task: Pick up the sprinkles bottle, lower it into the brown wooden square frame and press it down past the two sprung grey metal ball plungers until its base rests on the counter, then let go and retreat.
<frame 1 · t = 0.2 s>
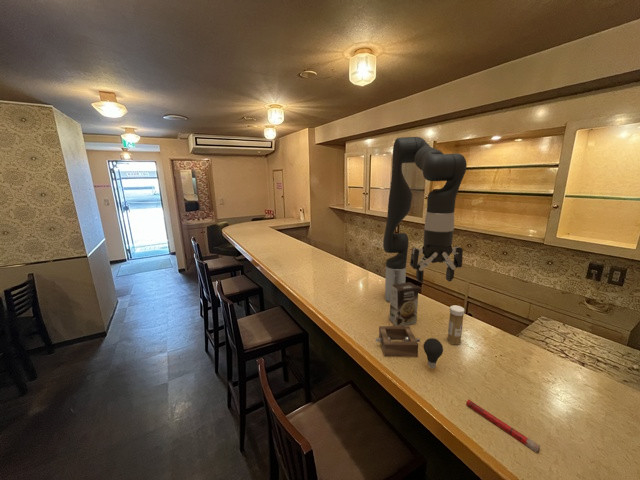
hand: (434, 280, 77), 28 cm above the table, fingers open, 8 cm apart
brown wooden square frame: (397, 346, 92), on the table
plunger 2: (411, 340, 91), point 3 cm above the table, slide at 0.0 cm
coffee box: (402, 322, 107), on the table
light bulb: (431, 367, 82), on the table
flare: (499, 427, 62), on the table
sprinkles bottle: (453, 341, 94), on the table
plunger 1: (383, 339, 92), point 3 cm above the table, slide at 0.0 cm
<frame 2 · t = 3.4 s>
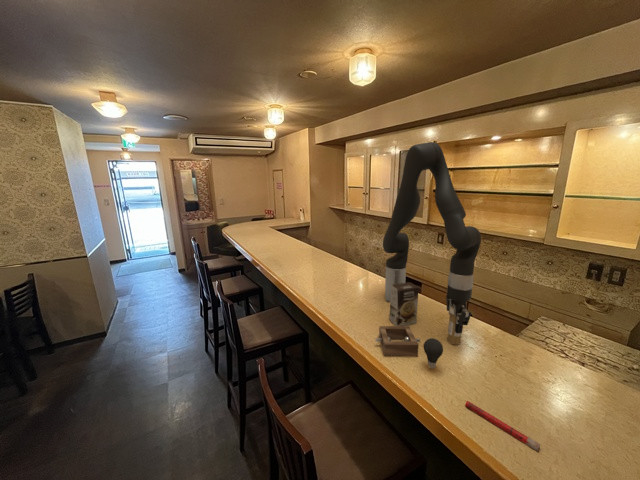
hand: (455, 328, 92), 5 cm above the table, fingers closed on sprinkles bottle, 4 cm apart
sprinkles bottle: (453, 341, 94), on the table, touching gripper
everything else where it was.
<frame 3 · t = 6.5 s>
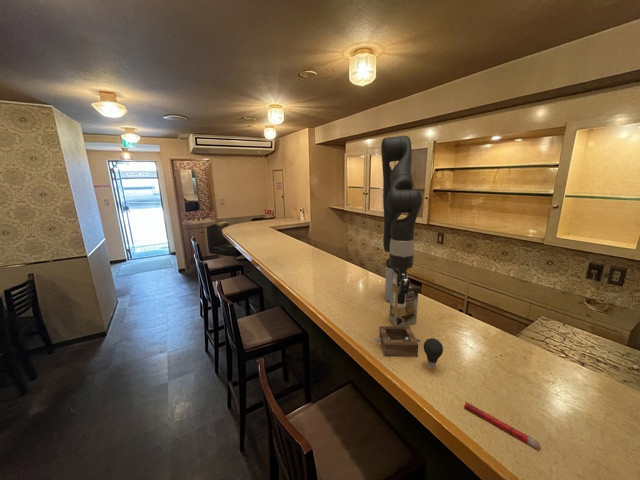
hand: (399, 299, 88), 18 cm above the table, fingers closed on sprinkles bottle, 4 cm apart
sprinkles bottle: (398, 314, 89), point 13 cm above the table, touching gripper
everything else where it was.
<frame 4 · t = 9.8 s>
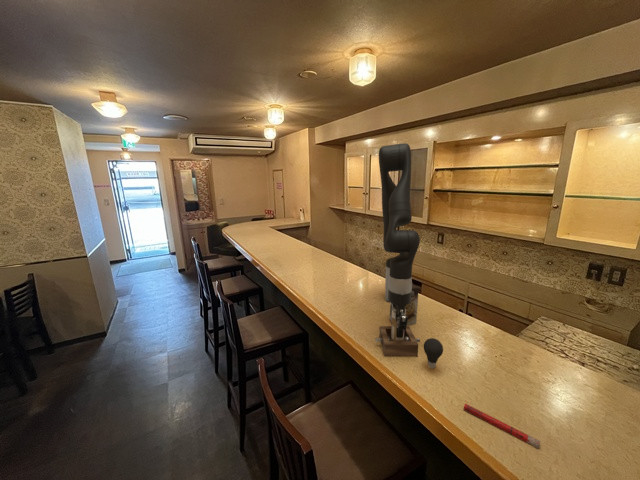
hand: (397, 332, 91), 5 cm above the table, fingers closed on sprinkles bottle, 4 cm apart
sprinkles bottle: (397, 346, 92), resting in brown wooden square frame, touching gripper
everything else where it was.
when the fingers open (5 cm above the table, at t = 9.8 s): sprinkles bottle stays where it is, resting in brown wooden square frame.
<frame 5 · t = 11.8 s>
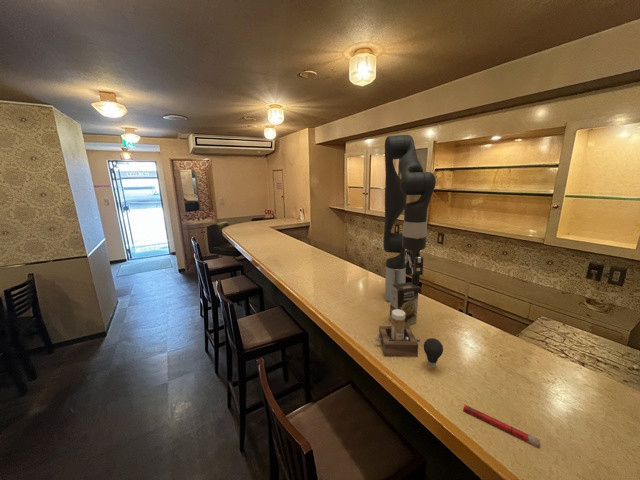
hand: (411, 279, 90), 24 cm above the table, fingers open, 8 cm apart
sprinkles bottle: (397, 346, 92), resting in brown wooden square frame
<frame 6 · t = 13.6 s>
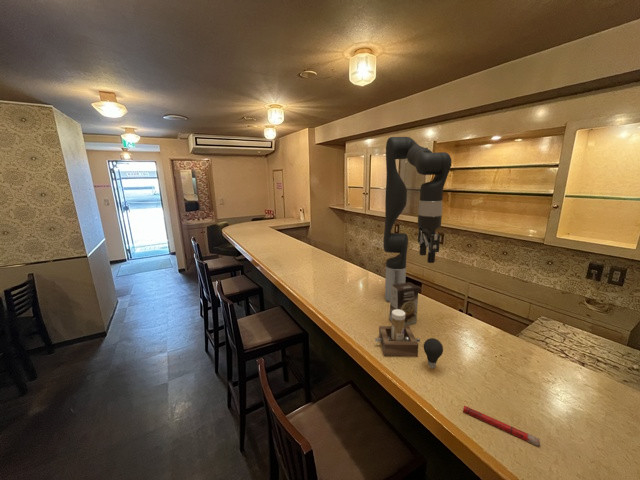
hand: (426, 258, 92), 30 cm above the table, fingers open, 8 cm apart
at the end: sprinkles bottle 0.2 cm off-centre on the brown wooden square frame, point 0.0 cm above the brown wooden square frame's base; sprinkles bottle tilted 0°; the gripper is holding nothing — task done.
